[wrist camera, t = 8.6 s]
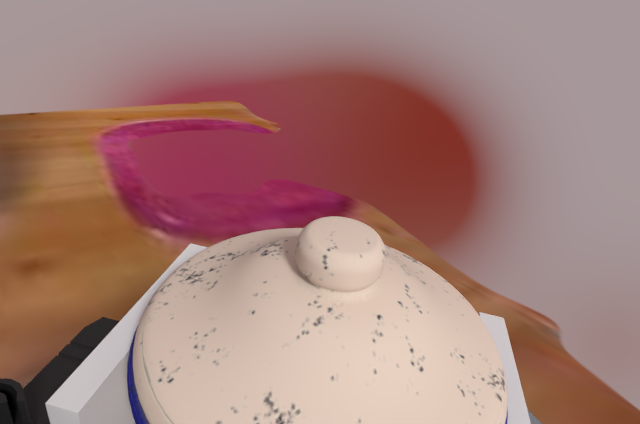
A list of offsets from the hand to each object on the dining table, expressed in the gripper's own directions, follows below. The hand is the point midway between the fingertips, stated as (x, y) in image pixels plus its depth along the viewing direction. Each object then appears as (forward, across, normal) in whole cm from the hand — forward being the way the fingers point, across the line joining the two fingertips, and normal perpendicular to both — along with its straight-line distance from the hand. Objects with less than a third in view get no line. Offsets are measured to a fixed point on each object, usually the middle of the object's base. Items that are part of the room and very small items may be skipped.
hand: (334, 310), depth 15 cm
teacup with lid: (-4, +1, -7) cm, 8 cm away
